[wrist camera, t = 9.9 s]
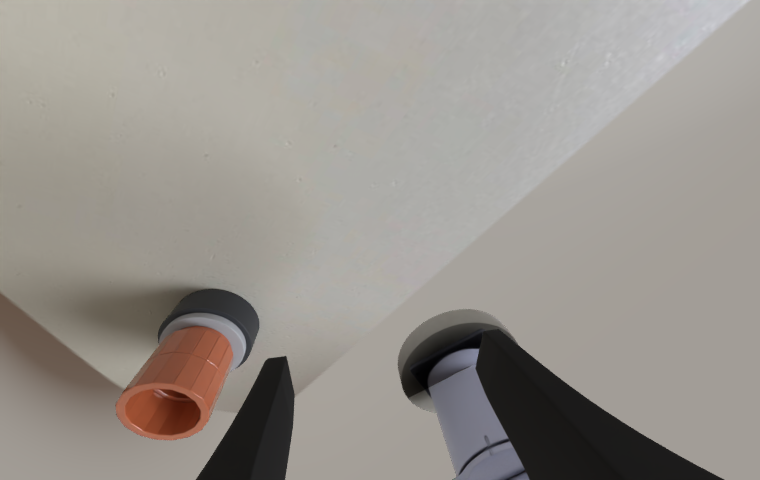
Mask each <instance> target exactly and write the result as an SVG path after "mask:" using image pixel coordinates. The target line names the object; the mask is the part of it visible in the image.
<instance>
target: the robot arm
mask: <svg viewBox="0 0 760 480" xmlns="http://www.w3.org/2000/svg"><path fill="white" fill-rule="evenodd" d="M410 371H411V373H412V374H413V376H414V377H415V378H416V380H417V381H418V382H419V383H420V385H421V386H422V387H423V388H424V390H425V391H426V392H427V394H428V395H429V396H430V397H431V399H432V400H433V404H434V407H435V410H436V413H437V416H438V419H439V423H440V426H441V429H442V432H443V435H444V438H445V441H446V444H447V448H448V451H449V454H450V458H451V461H452V464H453V467H454V470H455V473H456V478H454V479H453V480H724V479H722V478H720V477H718V476H716V475H714V474H712V473H710V472H708V471H707V470H705V469H703V468H701V467H699V466H697V465H695V464H693V463H691V462H690V461H688V460H686V459H684V458H682V457H680V456H678V455H677V454H675V453H673V452H671V451H670V450H668V449H666V448H665V447H663V446H661V445H659V444H658V443H656V442H654V441H653V440H651V439H649V438H647V437H646V436H644V435H642V434H641V433H639V432H637V431H636V430H634V429H633V428H631V427H629V426H628V425H626V424H625V423H623V422H621V421H620V420H618V419H617V418H615V417H614V416H612V415H611V414H609V413H608V412H606V411H604V410H603V409H602V408H600V407H599V406H597V405H596V404H594V403H593V402H591V401H590V400H588V399H587V398H586V397H584V396H583V395H581V394H580V393H579V392H577V391H576V390H575V389H573V388H572V387H570V386H569V385H568V384H566V383H565V382H564V381H562V380H561V379H560V378H558V377H557V376H556V375H555V374H553V373H552V372H551V371H550V370H548V369H547V368H546V367H544V366H543V365H542V364H541V363H539V362H538V361H537V360H536V359H534V358H533V357H532V356H531V355H529V354H528V353H527V352H526V351H525V350H523V349H522V348H521V347H520V346H519V345H517V344H516V343H515V342H514V341H513V340H511V339H510V338H509V337H508V336H506V335H505V334H504V333H503V332H501V331H500V330H499V329H497V330H489V331H486V330H485V329H480V330H477V331H476V332H474V333H472V334H470V335H468V336H466V337H464V338H462V339H460V340H458V341H457V342H455V343H453V344H451V345H449V346H447V347H445V348H443V349H441V350H439V351H437V352H436V353H434V354H432V355H430V356H428V357H426V358H424V359H422V360H420V361H418V362H417V363H415V364H413V365H411V367H410ZM293 415H294V390H293V385H292V381H291V376H290V371H289V366H288V362H287V357H286V356H284V357H276V358H268V359H267V360H266V361H265V363H264V365H263V367H262V369H261V371H260V373H259V375H258V377H257V379H256V381H255V383H254V385H253V387H252V389H251V391H250V392H249V394H248V396H247V398H246V400H245V402H244V403H243V405H242V407H241V409H240V410H239V412H238V414H237V416H236V417H235V419H234V421H233V423H232V425H231V426H230V428H229V429H228V431H227V433H226V434H225V436H224V437H223V439H222V441H221V442H220V444H219V445H218V447H217V448H216V450H215V452H214V453H213V455H212V456H211V458H210V460H209V461H208V462H207V464H206V465H205V467H204V468H203V470H202V471H201V473H200V474H199V476H198V477H197V479H196V480H285V475H286V469H287V463H288V456H289V449H290V442H291V436H292V429H293Z"/></svg>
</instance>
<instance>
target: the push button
mask: <svg viewBox="0 0 760 480" xmlns="http://www.w3.org/2000/svg"><path fill="white" fill-rule="evenodd" d="M190 326H204V327H209V328H212V329H215V330H217V331H219V332H220V333H222V334H223V335H224V336H225V337H226V338H227V339H228V340H229V342H230V344H231V348H232V351H233V355H234V356H233V364H232V366H231V369H230V371H229V372H231V371H232V370H234V369H236V368H238V367H239V366H240V365H242V364H243V363H244V362H245V361H246V360H247V358H248V356H249V354H250V352H251V349H252V347H253V344H254V341H255V339H256V336H257V333H258V330H259V319H258V316H257V314H256V311H255V310H254V308H253V307H252V306H251V305H250V304H249V303H248V302H247V301H246V300H244V299H243V298H242V297H240V296H238V295H236V294H233V293H231V292H228V291H223V290H216V289H208V290H201V291H197V292H195V293H192V294H190V295H188V296H187V297H185V298H184V299H183V300H182V301H181V302H180V303H179V304H178V305H177V306H176V308H175V309H174V310H173V311H172V312H171V314H170V315H169V316H168V317H167V318H166V320H165V321H164V322H163V323H162V325H161V327H160V329H159V332H158V343H159V345H160V343H161V342H162V341H163V340H164V338H165V337H166V336H168V335H170V334H171V333H173V332H175V331H178V330H181V329H183V328H186V327H190Z"/></svg>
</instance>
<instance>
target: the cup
mask: <svg viewBox="0 0 760 480" xmlns="http://www.w3.org/2000/svg"><path fill="white" fill-rule="evenodd" d="M233 356H234V355H233V351H232V348H231V344H230V342H229V340H228V339H227V338H226V337H225V336H224V335H223V334H222V333H220V332H219V331H217V330H215V329H212V328H209V327H204V326H190V327H186V328H183V329H181V330H178V331H175V332H173V333H171V334H170V335H168V336H166V337H165V338H164V340H163V341H162V342H161V343H160V345H159V346H158V347H157V349H156V350H155V351H154V352H153V354H152V355H151V356H150V358H149V359H148V360H147V362H146V363H145V364H144V365H143V367H142V368H141V369H140V371H139V372H138V373H137V374H136V376H135V377H134V378H133V380H132V381H131V382H130V384H129V385H128V386H127V387H126V389H125V390H124V391H123V393H122V394H121V396H120V397H119V399H118V401H117V402H116V405H115V406H116V415H117V417H118V419H119V420H120V421H121V423H122V424H123V425H124V426H125V427H126V428H128V429H129V430H131V431H133V432H134V433H136V434H138V435H140V436H144V437H148V438H151V439H156V440H177V439H182V438H187V437H190V436H191V435H194V434H195V433H197V432H199V431H200V430H202V429H203V427H204V426H205V425H206V423H207V422H208V420H209V418H210V416H211V414H212V411H213V409H214V407H215V404H216V402H217V400H218V397H219V395H220V392H221V390H222V388H223V385H224V383H225V381H226V378H227V376H228V374H229V371H230V369H231V366H232V364H233Z"/></svg>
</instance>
